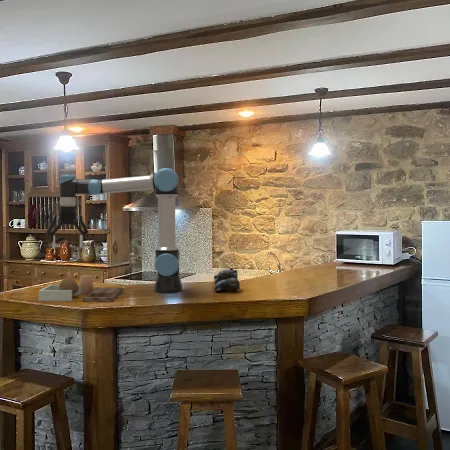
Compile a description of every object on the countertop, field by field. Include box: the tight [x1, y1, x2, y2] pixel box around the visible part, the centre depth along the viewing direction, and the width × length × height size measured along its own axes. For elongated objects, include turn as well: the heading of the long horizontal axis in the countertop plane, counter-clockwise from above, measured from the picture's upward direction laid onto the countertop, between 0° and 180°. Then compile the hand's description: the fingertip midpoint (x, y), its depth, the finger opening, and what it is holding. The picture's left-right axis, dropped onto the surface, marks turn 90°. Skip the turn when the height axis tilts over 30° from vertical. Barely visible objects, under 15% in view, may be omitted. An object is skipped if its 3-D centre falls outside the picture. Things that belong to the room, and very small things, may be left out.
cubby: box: [38, 284, 82, 302], centre depth 238 cm, size 16×16×5 cm
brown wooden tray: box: [82, 287, 124, 303], centre depth 241 cm, size 14×26×2 cm, turn 1°
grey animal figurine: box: [213, 267, 241, 292], centre depth 258 cm, size 15×12×14 cm
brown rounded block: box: [79, 274, 94, 295], centre depth 250 cm, size 6×6×9 cm
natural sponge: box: [59, 277, 79, 296], centre depth 238 cm, size 9×9×10 cm
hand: (67, 248), depth 240 cm, fingers open, 13 cm apart
